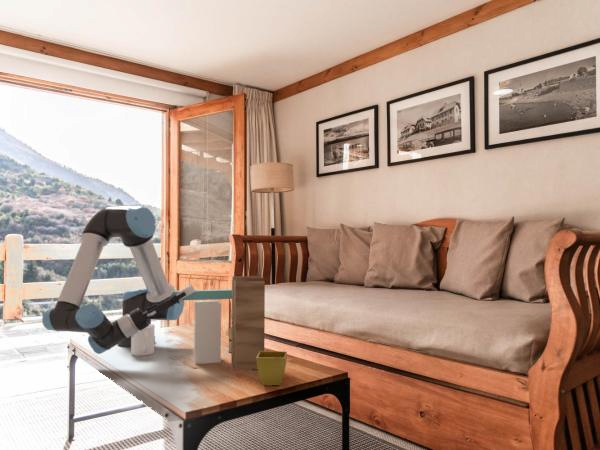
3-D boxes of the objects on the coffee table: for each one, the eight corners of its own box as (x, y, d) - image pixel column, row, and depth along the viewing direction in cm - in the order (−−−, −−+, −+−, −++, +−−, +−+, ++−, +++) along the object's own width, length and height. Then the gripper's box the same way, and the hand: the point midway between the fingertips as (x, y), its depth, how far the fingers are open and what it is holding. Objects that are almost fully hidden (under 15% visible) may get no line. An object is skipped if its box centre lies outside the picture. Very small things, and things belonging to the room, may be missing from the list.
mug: (134, 359, 174) (135, 330, 174) (129, 352, 184) (129, 325, 184) (158, 356, 178) (158, 328, 178) (151, 350, 188) (151, 323, 189)
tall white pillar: (194, 358, 174) (194, 301, 175) (218, 357, 177) (218, 300, 178) (195, 364, 167) (195, 304, 167) (220, 362, 169) (221, 303, 170)
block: (172, 299, 171) (172, 290, 171) (240, 297, 177) (240, 289, 178) (172, 300, 168) (172, 291, 168) (241, 298, 174) (242, 290, 174)
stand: (231, 363, 167) (232, 276, 168) (258, 361, 170) (259, 275, 171) (235, 371, 157) (235, 278, 159) (264, 369, 160) (264, 277, 161)
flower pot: (259, 379, 148) (259, 350, 148) (286, 379, 148) (287, 351, 148) (255, 388, 139) (256, 357, 140) (285, 388, 139) (285, 357, 139)
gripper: (140, 327, 174) (197, 294, 180) (138, 335, 158) (199, 298, 164) (130, 310, 173) (187, 277, 179) (126, 316, 157) (189, 280, 163)
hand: (193, 287), depth 171 cm, fingers closed on block, 3 cm apart
